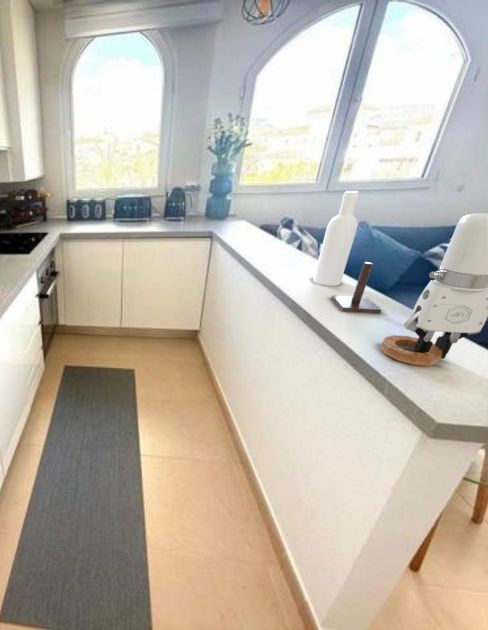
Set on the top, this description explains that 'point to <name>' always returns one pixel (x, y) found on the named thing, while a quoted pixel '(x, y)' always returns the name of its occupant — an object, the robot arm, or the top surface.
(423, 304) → the robot arm
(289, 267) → the top surface
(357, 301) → the wooden peg stand
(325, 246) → the bottle
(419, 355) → the ring
